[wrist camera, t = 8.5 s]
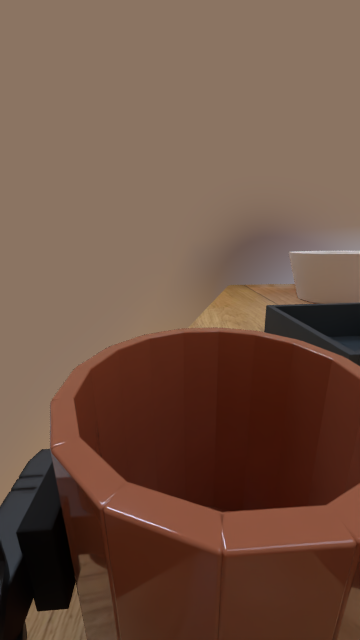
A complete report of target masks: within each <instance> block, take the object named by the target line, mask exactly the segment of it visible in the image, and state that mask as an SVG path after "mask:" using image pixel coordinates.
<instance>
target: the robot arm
mask: <svg viewBox="0 0 360 640" xmlns="http://www.w3.org/2000/svg"><path fill="white" fill-rule="evenodd" d="M75 581H76V580H75V575H74V570H73V564H72V559H71V554H70V549H69V544H68V539H67V533H66V528H65V523H64V518H63V513H62V508H61V503H60V497H59V492H58V487H57V482H56V477H55V472H54V466H53V461H52V456H51V451H50V449H42V450H41V451H40V452H38V453H37V454H36V455H35V456H34V457H33V458H32V459H31V460H30V461H29V462H28V463H27V465H26V466H25V468H24V469H23V471H22V472H21V474H20V476H19V479H17V480H16V482H15V484H14V485H13V487H12V489H11V492H9V494H8V495H7V497H6V498H5V500H4V501H3V503H2V505H1V506H0V640H27V631H26V624H25V619H26V616H27V614H28V611H29V608H30V606H31V603H32V600H33V598H34V601H35V605H36V609H37V611H48V610H59V609H68V608H69V604H70V600H71V597H72V593H73V589H74V585H75Z"/></svg>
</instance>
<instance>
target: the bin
mask: <svg viewBox="0 0 360 640" xmlns="http://www.w3.org/2000/svg"><path fill="white" fill-rule="evenodd" d="M264 332H265V333H270V334H274V335H279V336H283V337H288V338H292V339H297V340H300V341H304V342H306V343H309V344H312V345H314V346H317V347H320V348H322V349H325V350H328V351H330V352H333V353H336V354H338V355H341V356H343V357H345V358H348V359H349V360H351V361H352V362H354V363H356V364H357V365H359V366H360V303H328V304H295V305H267V306H266V319H265V331H264Z"/></svg>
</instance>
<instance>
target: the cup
mask: <svg viewBox="0 0 360 640" xmlns="http://www.w3.org/2000/svg"><path fill="white" fill-rule="evenodd" d="M50 451H51V456H52V461H53V466H54V472H55V477H56V482H57V487H58V492H59V497H60V503H61V508H62V513H63V518H64V523H65V528H66V533H67V539H68V544H69V549H70V554H71V559H72V564H73V570H74V575H75V580H76V585H77V590H78V595H79V601H80V606H81V611H82V616H83V621H84V626H85V632H86V637H87V640H360V366H359V365H357V364H356V363H354V362H352V361H351V360H349V359H348V358H345V357H343V356H341V355H338V354H336V353H333V352H330V351H328V350H325V349H322V348H320V347H317V346H314V345H312V344H309V343H306V342H304V341H300V340H297V339H292V338H288V337H283V336H279V335H274V334H270V333H265V332H260V331H259V332H258V331H252V330H241V329H230V328H186V329H176V330H169V331H163V332H157V333H151V334H146V335H142V336H139V337H136V338H133V339H130V340H127V341H124V342H121V343H118V344H115V345H113V346H109V347H108V348H105V349H104V350H102V351H101V352H99V353H97V354H96V355H94V356H93V357H91V358H90V359H88V360H86V361H85V362H83V363H82V364H80V365H78V366H77V367H76V368H75V369H73V371H72V372H71V374H70V375H69V376H68V378H67V379H66V380H65V382H64V383H63V385H62V386H61V387H60V389H59V390H58V391H57V393H56V394H55V396H54V397H53V398H52V401H51V403H50Z"/></svg>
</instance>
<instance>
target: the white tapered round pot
mask: <svg viewBox="0 0 360 640" xmlns="http://www.w3.org/2000/svg"><path fill="white" fill-rule="evenodd" d="M289 256H290V261H291V266H292V271H293V276H294V280H295V286H296V291H297V296H298V298H300V299H302V300H305V301H309V302H313V303H320V304H328V303H360V251H298V252H289Z"/></svg>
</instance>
